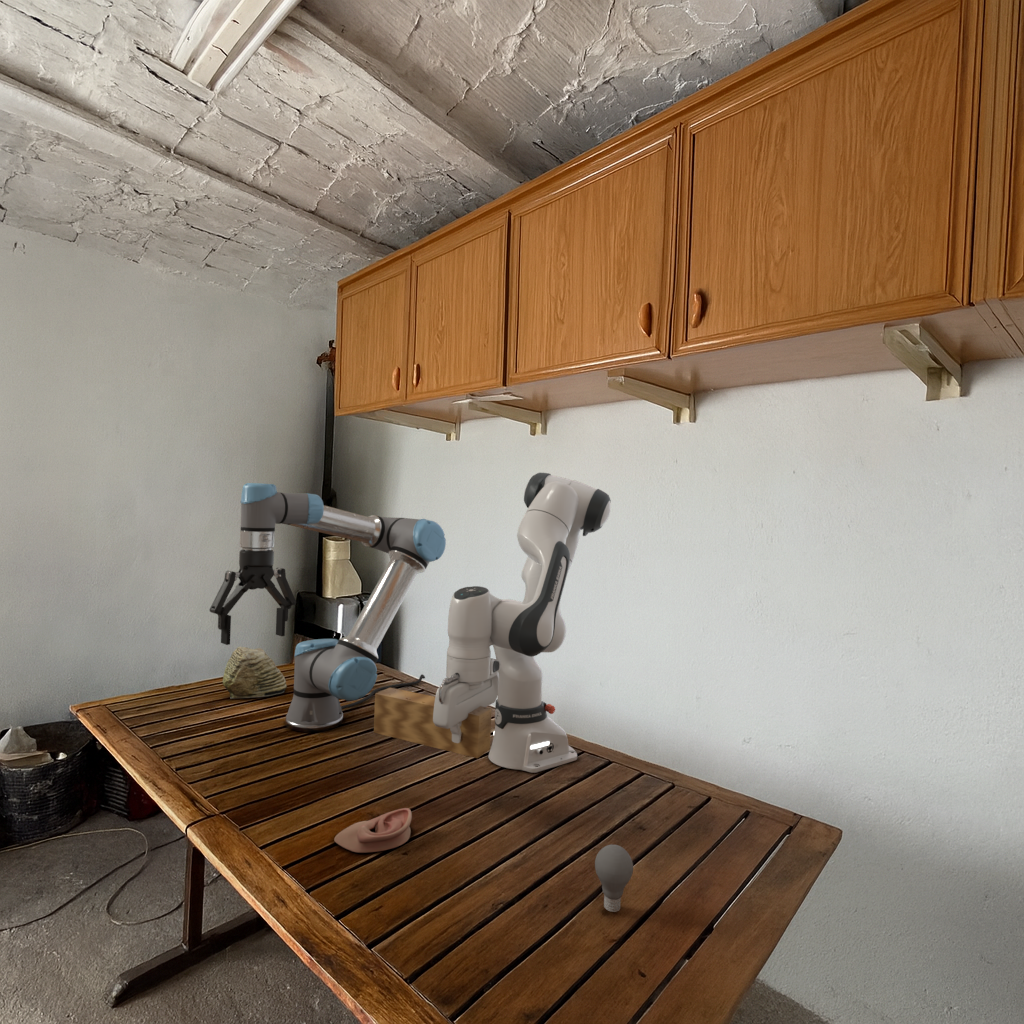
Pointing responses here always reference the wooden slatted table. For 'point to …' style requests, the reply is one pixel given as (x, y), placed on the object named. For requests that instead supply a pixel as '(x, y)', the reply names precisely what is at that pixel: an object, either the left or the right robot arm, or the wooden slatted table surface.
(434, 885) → the wooden slatted table surface
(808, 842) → the wooden slatted table surface
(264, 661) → the fossil
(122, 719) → the wooden slatted table surface
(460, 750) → the bar
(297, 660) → the left robot arm
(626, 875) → the light bulb
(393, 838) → the anatomical model
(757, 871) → the wooden slatted table surface
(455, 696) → the right robot arm
